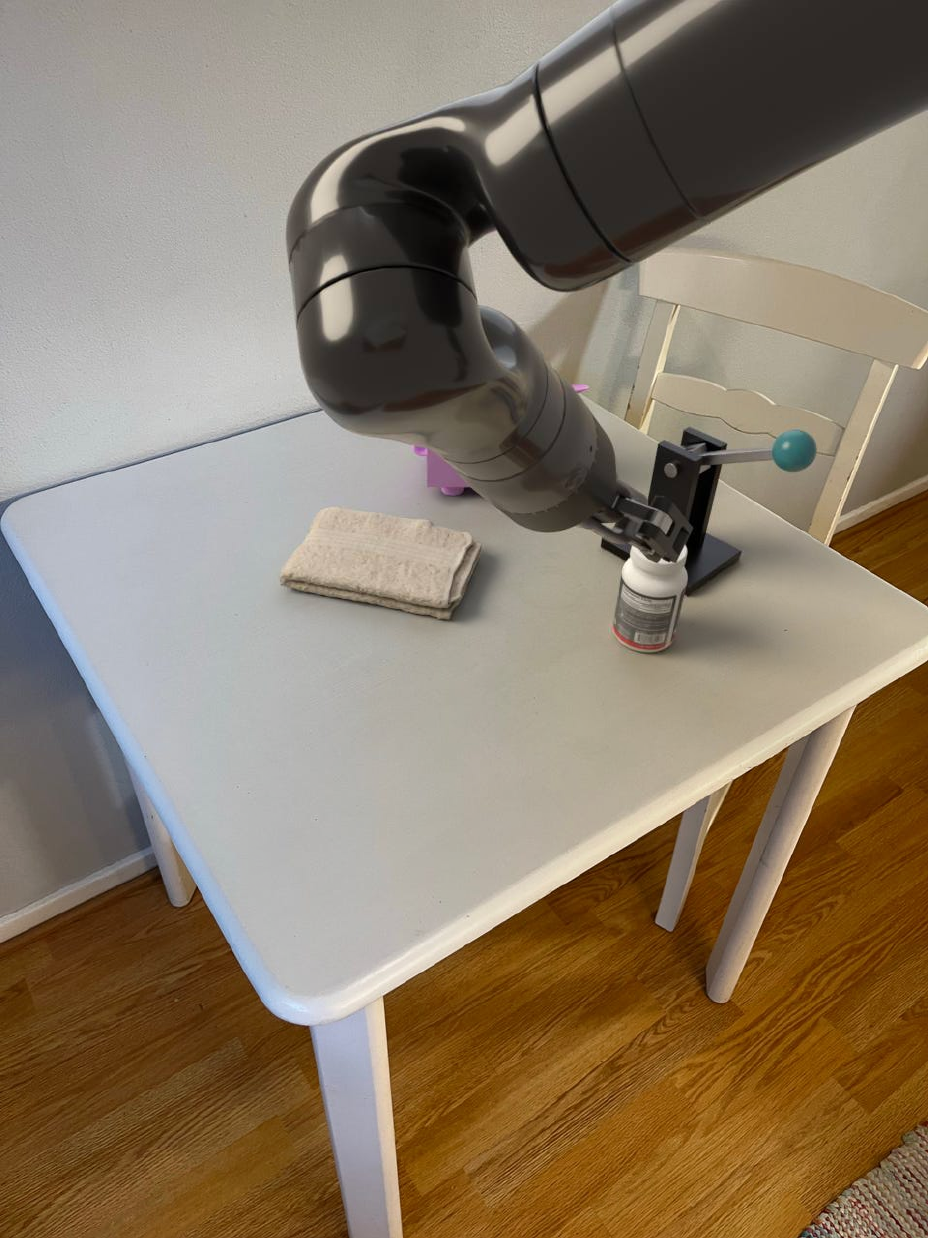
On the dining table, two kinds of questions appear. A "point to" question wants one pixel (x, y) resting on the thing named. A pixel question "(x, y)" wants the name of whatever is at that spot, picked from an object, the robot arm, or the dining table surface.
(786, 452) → the lever with teal knob
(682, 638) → the dining table surface
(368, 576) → the washcloth
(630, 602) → the pill bottle
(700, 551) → the bracket
